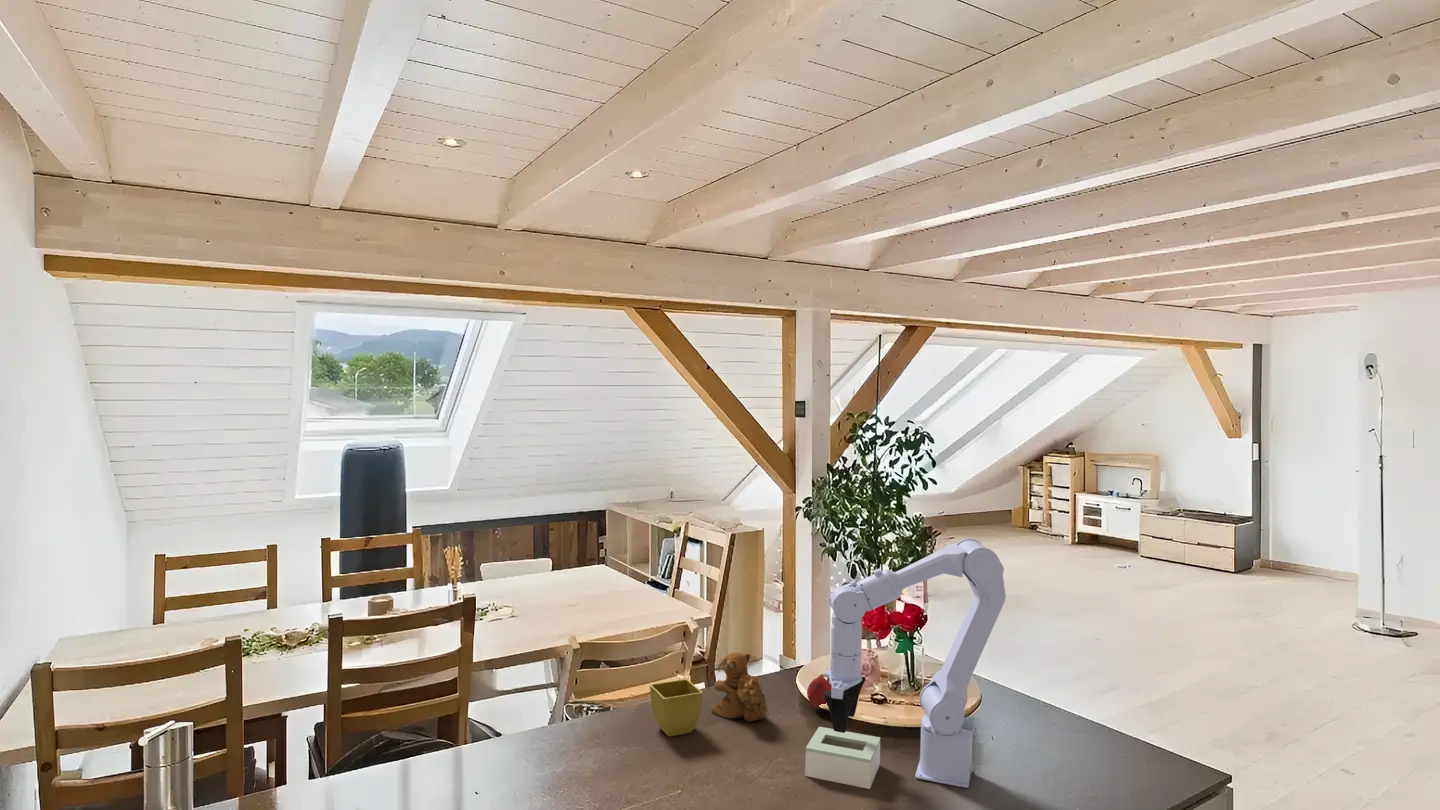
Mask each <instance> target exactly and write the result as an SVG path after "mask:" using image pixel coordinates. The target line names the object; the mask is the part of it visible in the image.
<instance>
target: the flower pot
mask: <svg viewBox="0 0 1440 810" xmlns="http://www.w3.org/2000/svg"><path fill="white" fill-rule="evenodd" d="M649 692H650V693H649V694H650V699H651V701H650V702H651V709H652V713H653V716H654V718H655V720H656V721H655V722H656V723H657V725H658V726H659V728H660V729H661V730H662V732H663V733H665V735H666V736H667V737H675V736H680V735H685V734H690V733H692V732H693V730H694V729H695V728H696V725H697V723H698V722H699V719H700V715H701V707H702V701H703V693H704V691H702V690H701V689H700V688H698V686H696V685H695V684H693V682H691V681H690V680H689V679H687V678H683V679H676V680H670V681H663V682H655V683H651V684H649Z"/></svg>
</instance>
